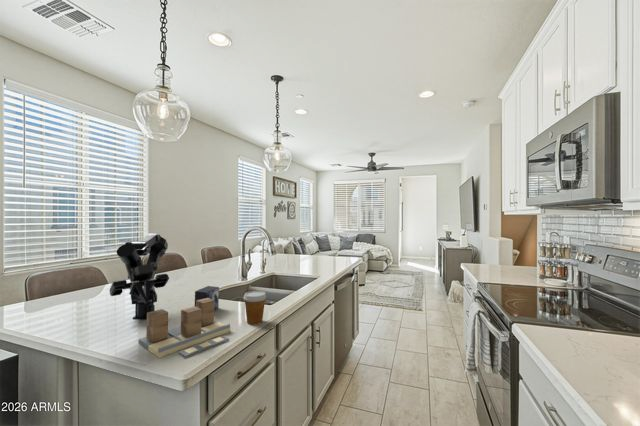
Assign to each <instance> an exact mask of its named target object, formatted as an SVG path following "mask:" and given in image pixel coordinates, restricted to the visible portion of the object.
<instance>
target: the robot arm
mask: <svg viewBox="0 0 640 426" xmlns="http://www.w3.org/2000/svg"><path fill="white" fill-rule="evenodd" d="M168 245H169V244H168V242H167V239H166V238H164V237H162V236H161V234H159V233H147V234H146V235H145V236H143V238H141V239H140V240H136V241H135V240H133V241H125V243H124V244H122V245H121V246H119V247H118V248H117V249H116V255H117V256H118V257H119V259H120V261H121V262H122V263H123V264H124V266H125V270H126V272H127V279H128V280H129V281H130V282H127V279H121V280H115V281H112V283H111V285H110V288H109V294H110V297H115V296H121V295H122V294H123V293H124V291H123V290H128V289H129V296H130V300H131V305H135V308H134V309H135V313H134V314H135V315H134V316H133V317H132V319H133V320H138V319H139V320H147V313H148V312H152V311H156V308H155V307H156V306H155V303H157V302H158V294H157V292H156V289H159V288H164V287H166V285H167V283H168V281H169V279H170V276H169V275H168V273H159V274H156V271H157V270H158V265H159V262H160V259H161V258H162V257H163V256H164V255H165V254H166V251H167V250H168V248H169V247H168ZM147 255H148V257H147V261H146V264H144V262H143V259H142V257H144V256H147Z"/></svg>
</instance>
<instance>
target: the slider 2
mask: <svg viewBox="0 0 640 426" xmlns="http://www.w3.org/2000/svg"><path fill="white" fill-rule="evenodd" d="M214 302H215V300H213V299H210V298H205V299H201V300H197V301H196V307H198V308H200V309H202V315H201V326H205V325H208V324H211V323H214V321H215V310H214Z"/></svg>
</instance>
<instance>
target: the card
mask: <svg viewBox="0 0 640 426" xmlns="http://www.w3.org/2000/svg"><path fill="white" fill-rule="evenodd" d="M226 341H227V342H229V341H230V338H228V337H226V336H224V335H219V336H216V337H213V338H211V339H208V340H205V341H203V342H200V343H197V344H195V345H192V346H189V347H187V348H184V349H181V350H179V351H178V355H180V356H181V357H183V358H185V359H187V358H189V357H191V356H194V355H197V354H199V353H202V352H204V351H207V350H209V349H211V348H214V347H216V346H219V345H221V343H222V344H224V343H226Z"/></svg>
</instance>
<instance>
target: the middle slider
mask: <svg viewBox="0 0 640 426" xmlns="http://www.w3.org/2000/svg"><path fill="white" fill-rule="evenodd" d="M201 315H202V309H200V308H198V307H195V305H194V306H190V307H186V308H182V309H180V326H181V335H182V336H184V337H186V338H189V337H192V336H195V335H198V334H201Z"/></svg>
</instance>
